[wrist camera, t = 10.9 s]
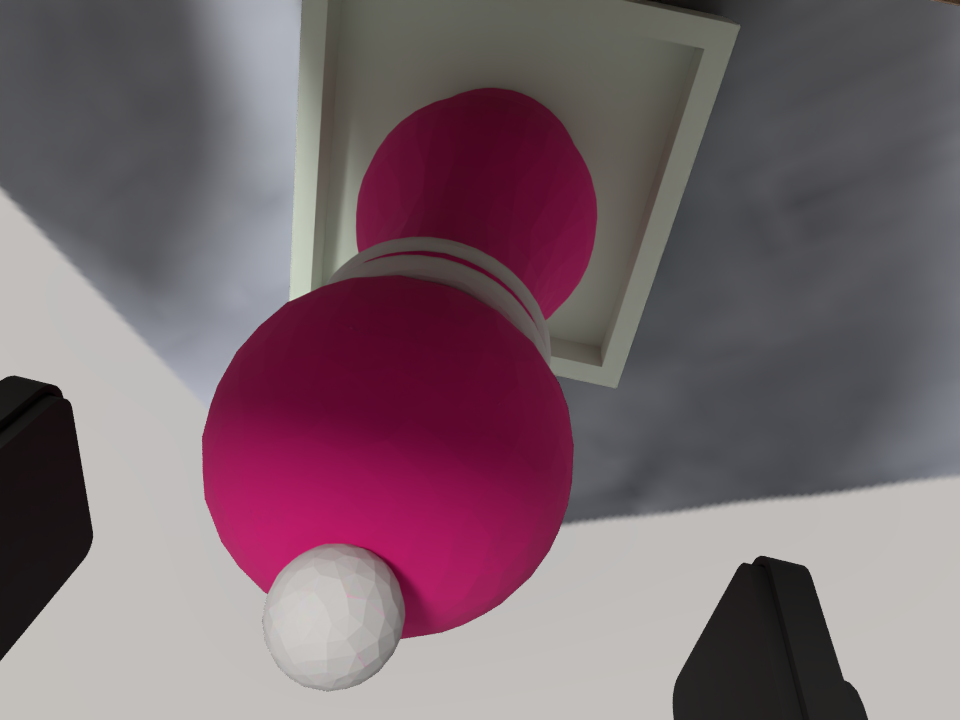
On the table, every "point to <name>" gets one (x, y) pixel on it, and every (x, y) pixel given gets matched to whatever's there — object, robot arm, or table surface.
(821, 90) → the table surface
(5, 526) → the robot arm
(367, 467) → the pepper mill
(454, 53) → the tray
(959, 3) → the open wooden crate
